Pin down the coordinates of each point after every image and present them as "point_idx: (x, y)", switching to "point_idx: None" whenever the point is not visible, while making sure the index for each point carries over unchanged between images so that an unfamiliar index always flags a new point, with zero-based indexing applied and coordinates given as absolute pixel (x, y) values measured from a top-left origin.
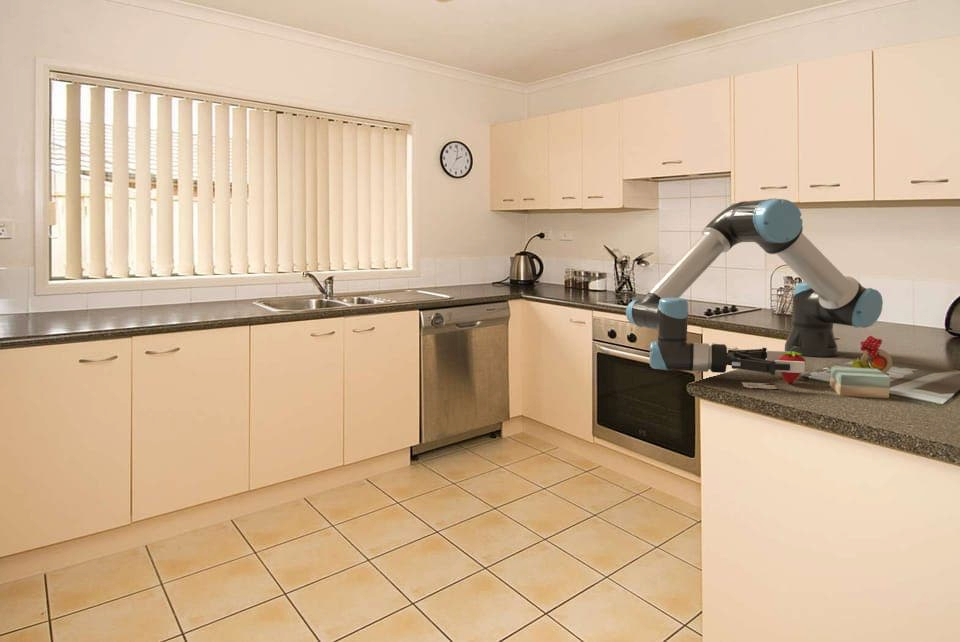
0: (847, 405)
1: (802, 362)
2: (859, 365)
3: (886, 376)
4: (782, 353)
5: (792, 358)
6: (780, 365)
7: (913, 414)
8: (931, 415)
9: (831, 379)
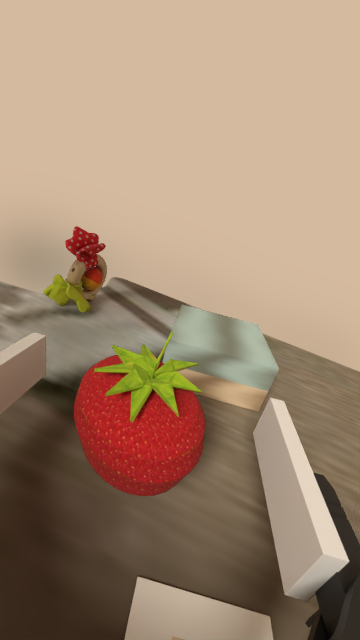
0: (356, 443)
1: (287, 410)
2: (78, 292)
3: (253, 324)
4: (5, 371)
5: (192, 403)
6: (356, 546)
7: (338, 380)
8: (326, 366)
9: None
